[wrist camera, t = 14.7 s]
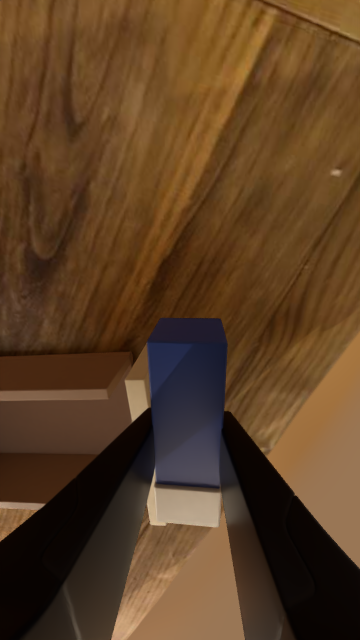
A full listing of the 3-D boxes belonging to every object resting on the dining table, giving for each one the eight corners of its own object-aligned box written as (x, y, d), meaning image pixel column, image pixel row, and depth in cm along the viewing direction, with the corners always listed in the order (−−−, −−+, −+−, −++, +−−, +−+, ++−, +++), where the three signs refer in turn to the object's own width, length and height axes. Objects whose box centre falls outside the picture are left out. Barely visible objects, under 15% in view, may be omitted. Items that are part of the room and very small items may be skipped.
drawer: (213, 338, 18) (218, 377, 13) (219, 458, 22) (224, 529, 16) (-37, 349, 21) (-123, 385, 15) (5, 454, 25) (-52, 514, 19)
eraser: (158, 317, 8) (143, 342, 6) (222, 318, 8) (230, 344, 6) (165, 465, 10) (155, 523, 8) (215, 468, 10) (219, 528, 8)
